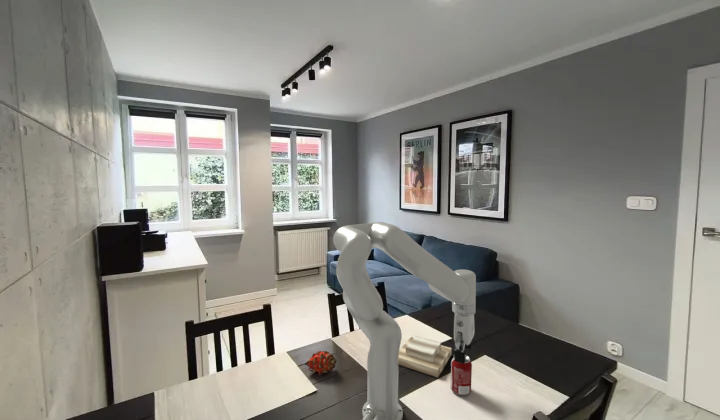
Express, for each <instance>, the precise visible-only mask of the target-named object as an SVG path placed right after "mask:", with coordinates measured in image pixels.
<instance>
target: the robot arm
mask: <svg viewBox="0 0 720 420" xmlns="http://www.w3.org/2000/svg"><path fill="white" fill-rule="evenodd" d="M332 241H333V245H334V248H335V249H336V250H337V251H338V252H339V256H338V258H337V261H336V269H335V271H336V272H335V274H336V277H337V280H338V283H339V284H340V286H341V289H342V290H343V291H342V299H343V302H344V304H345V306H346V308H347V309H348V311H349V313H350V315H351V317H352V318H353V320H354V321H355V323H356V325H357V327H359V329H360V330H361V332H362V333H363V334H364V336H365V337H366V338H367V339H368V340H369V345H370V346H369V349H368V353H367V359H366V360H367V361H366V362H367V363H366V364H367V365H366V366H367V368H366V369H367V370H366V371H367V372H366V373H367V374H366V375H367V386H366V387H367V389H366V390H367V393H366V395H367V397H366V398H367V400H366V402H364V404H363V406H362V410H361V411H362V412H361V413H362V419H361V420H403V417H404V411H403V408H402V406H401V404H400V403H399V365H398V359H399V350H400V349H401V344H402V336H403V334H402V330H401V327H400V325H399V324H398V322H397V320H396V319H394V318H393V317H392V316H391V315H390V314H389V313H388V312H386V311H385V310H383V309H384V304H383V299H382V296H381V294H380V293H379V292H378V290H377V288H376V287H375V285H374V283H373V281H372V279H371V278H370V275H369V273H368V271H367V263H368V259H369V256H370V255H371V252H372V249H379V250H381V251H382V252H384V253H385V254H386V255H387V256H388V257H390V258H391V259H392V260H394V261H395V262H396V263H397V264H398V265H400V266H401V267H402V268H403V269H404V270H406V271H407V272H408V273H410V274H411V275H412V276H413V277H414V276H415V277H416V278H418V279H420V280H422V281H424V282H426V283H427V285H428V287H429V289H430V290H431V291H432V292H434V293H436V294H437V295H439V296H440V297H443V298H445V299H446V300H448V301H450V302H451V309H452V310H451V311H452V312H453V313H454V319H453V340H454V341H453V342H454V355H455V361H457V362H460V363H465V355H466V351H465V349H468V350H472V344H473V343H472V340H473V338H474V336H475V314H476V303H477V302H476V298H477V297H476V295H477V294H476V293H477V291H476V290H477V287H476V286H477V283H476V282H477V277H476V273H475V272H474V271H472V270H469V269H464V268H463V269H462V268H461V269H456V270H453V269H452V268H450V267H449V266H448V265H447V264H444V263H443V262H442V261H440V259H438V258H436V257H435V256H434V255H432V254H431V253H430V252H428V251H427V250H426V249H425V248H423V247H422V246H421V245H420V244H418V243H417V241H415V240H414V239H413V238H412V237H411V236H410V235H409V234H407V233H406V232H405V231H404V230H403V229H401V228H400V227H399V226H396V225H394V224H391V223H387V222H382V221H379V222H377V221H376V222H369V223H359V224H347V225H343V226H341V227H339V228H337V230H336V231H335V232H334V234H333V238H332Z"/></svg>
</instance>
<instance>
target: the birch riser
mask: <svg viewBox="0 0 720 420" xmlns="http://www.w3.org/2000/svg"><path fill="white" fill-rule="evenodd" d="M451 356H452V347H450V346H449V347H448V346H445V345H442V343H441V342H440V341H436V340H432V339H429V338H426V337H421V336H418V335H415V336H414V337H413V336H411V337H409V338H408V340H407V341H406V342H405V343H404V344H403V345H402V347H400V349H399V359H398V366H402V367H404V368H408V369H410V370H414V371H416V372H420V373H423V374H426V375H429V376H432V377H435V378H439V377H440V375H441V373H442V372H443V370H444V368H445V366H446V365H447V363H448V361H449V359H450V358H451Z"/></svg>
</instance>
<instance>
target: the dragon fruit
mask: <svg viewBox="0 0 720 420" xmlns="http://www.w3.org/2000/svg"><path fill="white" fill-rule="evenodd" d="M336 363H337V359H336V357H335V356H334V355H333V354H332V353H331V352H329V351H327V350H319V351H317V352H315V353H313V354H312V355H311V357H310V358H308V360H307V361H306V362H305V363H304V366H307V367H308V369H307V370H308V371H309V372H311V373H312V374H314V373H316V372H317V373H318V376H322V375H323V374H328V373H329V371H330V372H331V371H333V370H334V369H335V367H336Z"/></svg>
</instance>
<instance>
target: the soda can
mask: <svg viewBox="0 0 720 420" xmlns="http://www.w3.org/2000/svg"><path fill="white" fill-rule="evenodd" d="M450 367H451V368H450V390H451V391H452V392H453V393H454V394H456V395H458V396H461V397H462V396H463V397H464V396H468V395H470V394H471V392H472V373H473V372H472V371H473V369H472V368H473V363H472V361H471V357H469V356H468V355H467V354H465V363H460V362H457V361H455V354H453V358H452V359H451V362H450Z"/></svg>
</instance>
